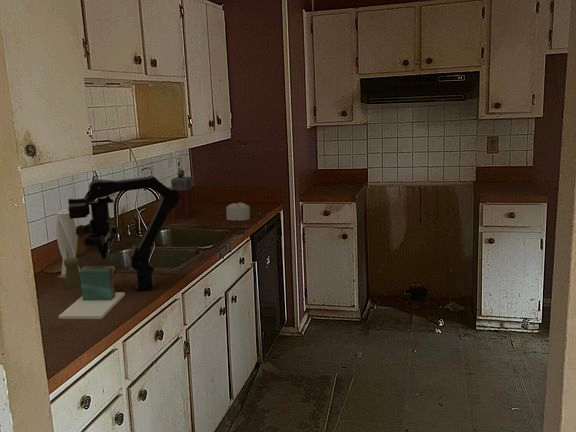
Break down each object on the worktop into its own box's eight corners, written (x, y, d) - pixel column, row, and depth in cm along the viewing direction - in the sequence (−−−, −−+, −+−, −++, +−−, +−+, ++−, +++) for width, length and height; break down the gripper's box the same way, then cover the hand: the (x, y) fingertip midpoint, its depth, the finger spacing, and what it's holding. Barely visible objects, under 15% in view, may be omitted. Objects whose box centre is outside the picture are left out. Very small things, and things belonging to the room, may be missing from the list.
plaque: (87, 296, 200) (84, 266, 198) (115, 296, 199) (112, 266, 197) (82, 300, 196) (79, 269, 194) (111, 300, 195) (108, 269, 193)
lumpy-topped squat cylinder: (231, 216, 332) (231, 201, 330) (252, 217, 328) (252, 202, 326) (224, 220, 322) (224, 205, 320) (246, 221, 318) (245, 205, 316)
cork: (84, 283, 217) (81, 255, 215) (79, 288, 212) (76, 259, 209) (68, 283, 217) (65, 255, 215) (63, 288, 211) (59, 260, 209)
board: (86, 295, 204) (86, 292, 204) (124, 295, 203) (124, 292, 203) (58, 318, 183) (58, 315, 182) (101, 318, 182) (101, 316, 182)
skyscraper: (55, 276, 226) (47, 207, 220) (71, 271, 233) (64, 203, 227) (70, 279, 222) (62, 209, 216) (86, 273, 229) (79, 205, 223)
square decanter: (176, 215, 336) (173, 168, 330) (193, 216, 334) (191, 168, 328) (169, 218, 328) (166, 170, 322) (187, 219, 325) (184, 170, 319)
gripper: (88, 210, 209) (92, 251, 212) (66, 222, 191) (71, 266, 194) (118, 210, 209) (122, 251, 212) (99, 221, 190) (103, 266, 194)
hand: (104, 258), depth 203 cm, fingers closed
